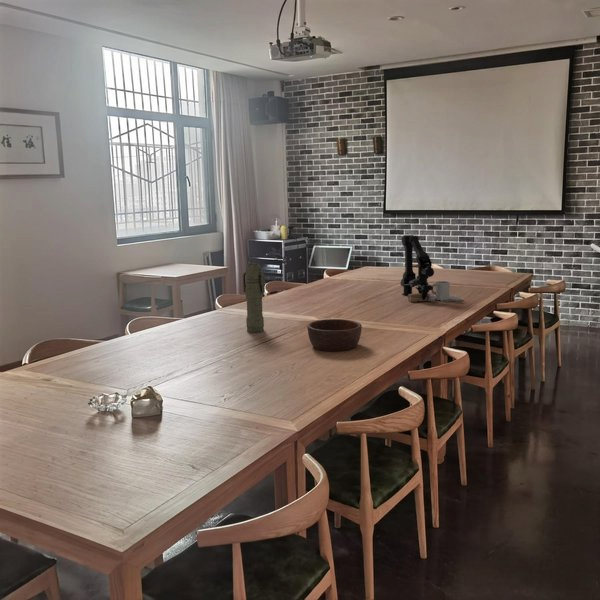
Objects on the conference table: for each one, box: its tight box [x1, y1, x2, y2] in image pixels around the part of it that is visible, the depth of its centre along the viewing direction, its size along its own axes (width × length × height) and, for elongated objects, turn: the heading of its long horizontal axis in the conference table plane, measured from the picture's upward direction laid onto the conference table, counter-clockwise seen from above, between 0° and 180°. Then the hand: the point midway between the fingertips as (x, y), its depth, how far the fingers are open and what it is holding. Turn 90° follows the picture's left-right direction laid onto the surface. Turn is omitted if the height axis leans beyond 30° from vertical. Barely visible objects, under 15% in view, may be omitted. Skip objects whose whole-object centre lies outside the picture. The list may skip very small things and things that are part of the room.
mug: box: [431, 280, 451, 301], centre depth 391 cm, size 12×8×11 cm
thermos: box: [242, 262, 266, 334], centre depth 316 cm, size 9×12×35 cm
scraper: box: [407, 292, 436, 303], centre depth 389 cm, size 11×14×4 cm
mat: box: [435, 295, 464, 303], centre depth 393 cm, size 15×14×1 cm
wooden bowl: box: [307, 318, 363, 352], centre depth 286 cm, size 25×25×10 cm
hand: (422, 299), depth 390 cm, fingers closed on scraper, 4 cm apart
